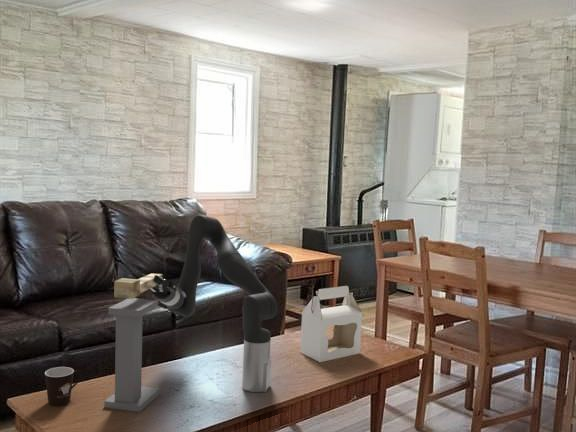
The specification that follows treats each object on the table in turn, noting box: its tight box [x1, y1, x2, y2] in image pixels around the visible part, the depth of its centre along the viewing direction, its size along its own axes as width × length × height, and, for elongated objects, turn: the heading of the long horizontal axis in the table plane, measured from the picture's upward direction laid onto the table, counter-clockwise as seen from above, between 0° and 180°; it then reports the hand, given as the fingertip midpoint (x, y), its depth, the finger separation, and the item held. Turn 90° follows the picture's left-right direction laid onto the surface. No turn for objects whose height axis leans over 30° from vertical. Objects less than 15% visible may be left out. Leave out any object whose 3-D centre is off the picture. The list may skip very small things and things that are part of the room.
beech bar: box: [113, 272, 163, 299], centre depth 190 cm, size 24×6×5 cm, turn 168°
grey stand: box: [103, 297, 160, 413], centre depth 187 cm, size 12×14×32 cm
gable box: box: [299, 285, 363, 363], centre depth 243 cm, size 22×13×28 cm, turn 126°
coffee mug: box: [44, 366, 83, 407], centre depth 186 cm, size 12×9×10 cm
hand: (148, 277), depth 195 cm, fingers closed on beech bar, 4 cm apart
